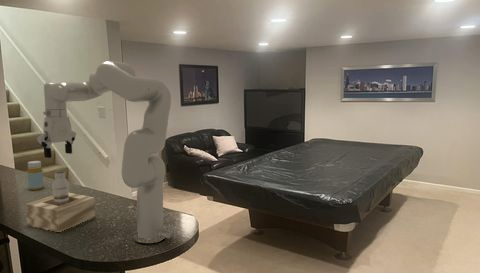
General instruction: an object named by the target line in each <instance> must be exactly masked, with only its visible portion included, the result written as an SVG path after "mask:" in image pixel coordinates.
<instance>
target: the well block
mask: <svg viewBox="0 0 480 273" xmlns="http://www.w3.org/2000/svg"><path fill="white" fill-rule="evenodd" d="M95 201H96V199H95V197H93V196H89V195H83V194H79V193H72V192H69V203H67V204H64V205H61V206H56V205H54V196H53V195H50V196H46V197H44V198H40V199H37V200H33V201H31V202H28V203H25V213H26V225H27V226H29V227H33V228H36V227H37V229H40V228H42V229H41V230H44V229H45V231H48V230H50V231H49V232H52V231H54V232H53V233H56V232H61V233H63V232H65V231H67V230H66V229H68V230H70V229H72V228H75V227H77V226H79V225H81V224H83V223H82V222H84V223H85V221H86V222H88V221H90V220H93V219H94V217H95V218H96V208H95V207H96V206H95V205H96V204H95V203H96V202H95ZM92 218H93V219H92ZM87 220H88V221H87ZM80 223H81V224H80ZM78 224H79V225H78ZM76 225H77V226H76ZM71 227H72V228H71ZM69 228H70V229H69ZM64 230H65V231H64ZM62 231H63V232H62Z"/></svg>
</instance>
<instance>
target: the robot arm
mask: <svg viewBox="0 0 480 273" xmlns="http://www.w3.org/2000/svg"><path fill="white" fill-rule="evenodd" d="M43 92H44V93H43V94H44V110H45V111H43V115H44V116H45V117H44V118H43V119H44V120H43V131H42V132H43V133H42V134H40V135H38V136H37V137H36V140H37V142H38V144H39V145H40V147H41V148H43V154H44V158H48V159H51V158H52V157H53V156H52V147H51V145H52V144H53V143H54V144H55V143H62V142H65V144H64V150H65V151H64V152H65V153H66V154H70V155H72V154H73V144H74V141H75V140H76V136H77V132H75V131H72V123H71V120H70V117H69V116H68V113H67V111H68V110H67V108H68V107H67V103H69V102H71V103H72V102H85V101H90V100H94V99H97V98H98V97H101V96H103V95H104V94H105V93H108V92H113V93H114V94H116V95H118V96H119V97H121V98H123V100H126V101H128V102H133V103H139V102H140V103H141V102H142V103H143V102H148V105H147V108H146V109H145V112H144V115H143V123H142V127H141V129H140V128H139V129H136V130H133V131H131V132H130V133H129V134H128V136H127V137H126V139H125V141H124V146H123V153H122V161H121V179H122V181H123V183H124V184H125V185H126V186H128V187H129V188H133V189H134V188H135V189H137V190H136V219H137V220H136V221H137V227H136V228H137V232H138V237H140V238H144V239H147V238H158V237H160V238H161V237H164V238H166V239H168V238H169V237H170V238H171V235H172V230H168V229H167V225H165V224H164V182H165V181H164V179H165V174H166V166H165V163H164V160H163V158H161V157H160V156H158V155H156V153H160V152H161V151H162V150H163V149H164V148H165V145H166V139H167V132H168V124H169V116H170V110H171V105H172V95H171V91H170V89H169V87H168V86H167V84H165V83H164V82H163V81H162V80H160V79H158V78H155V77H148V76H147V77H145V76H144V77H143V76H136V70H135V68H134V67H133V66H132V65H130V64H129V63H127V62H122V61H113V60H107V61H103V62H101V63H100V64H99V65H98V67H97V69H95V70H94V71H92V72H91V73H90V74H89V77H88V80H86V81H83V82H74V81H73V82H72V81H71V82H70V81H68V82H67V81H63V82H46V83H44V86H43ZM154 154H155V155H154ZM170 238H169V239H170Z"/></svg>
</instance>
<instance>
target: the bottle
mask: <svg viewBox="0 0 480 273" xmlns="http://www.w3.org/2000/svg"><path fill="white" fill-rule="evenodd" d="M43 172H44V171H43V168H42V161H41V160H32V161H27V186H28V190H29V191H40V190H42V189H43V188H44V173H43Z"/></svg>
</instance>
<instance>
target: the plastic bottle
mask: <svg viewBox="0 0 480 273" xmlns="http://www.w3.org/2000/svg"><path fill="white" fill-rule="evenodd" d="M54 178H55V179H54V180H53V181H52V184H51V191H52V194H53V196H54V205H56V206H61V205H64V204H67V203H69V193H70V182H69V181H68V179H66V172H65V171H55V172H54Z"/></svg>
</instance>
